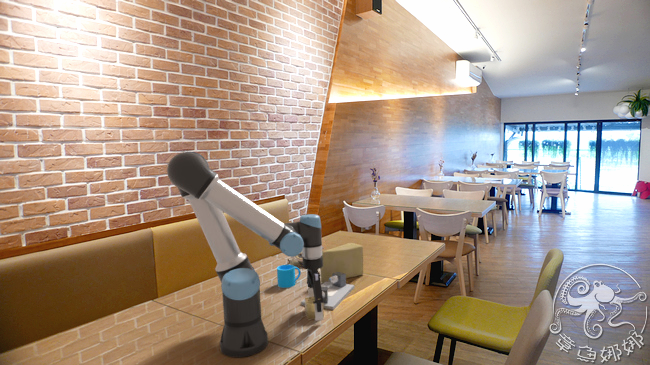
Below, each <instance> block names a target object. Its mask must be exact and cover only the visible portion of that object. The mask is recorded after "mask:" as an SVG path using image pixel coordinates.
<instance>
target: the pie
mask: <svg viewBox="0 0 650 365" xmlns="http://www.w3.org/2000/svg"><path fill="white" fill-rule="evenodd" d="M288 260H289V264H288V265H293V266H298V267H299V266H300V267H301V266H302V267H303V256H302V252H301V253H300V254H298V255H297V256H294V257H290V258H288Z"/></svg>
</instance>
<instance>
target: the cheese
mask: <svg viewBox="0 0 650 365" xmlns="http://www.w3.org/2000/svg"><path fill="white" fill-rule="evenodd" d="M322 257H323V267H322V268H320V281H321V284H323V283H324V282H325V281H326V282H329V278H330V277H332V274H333V273H335V272H341V273H344V274H346V279H349V278H355V277H358V276H363V275H364V246H363V245H362V244H357V243H354V242H348V243H345V244H342V245H338V246H334V247H333V248H329V249H325V250H324V249H323V250H322Z"/></svg>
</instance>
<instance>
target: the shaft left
mask: <svg viewBox="0 0 650 365" xmlns="http://www.w3.org/2000/svg"><path fill="white" fill-rule="evenodd" d="M321 288H322V296H323V303H328V287H326V286H325V285H322V284H321Z"/></svg>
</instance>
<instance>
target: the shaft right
mask: <svg viewBox="0 0 650 365" xmlns="http://www.w3.org/2000/svg"><path fill="white" fill-rule="evenodd" d="M329 282H330V284H333V285H334V286H337V287H340V288H341V287H343V286H346V284H347V278H346V274H344V273H341V272H335V273H333V274H332V277H330V278H329Z"/></svg>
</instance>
